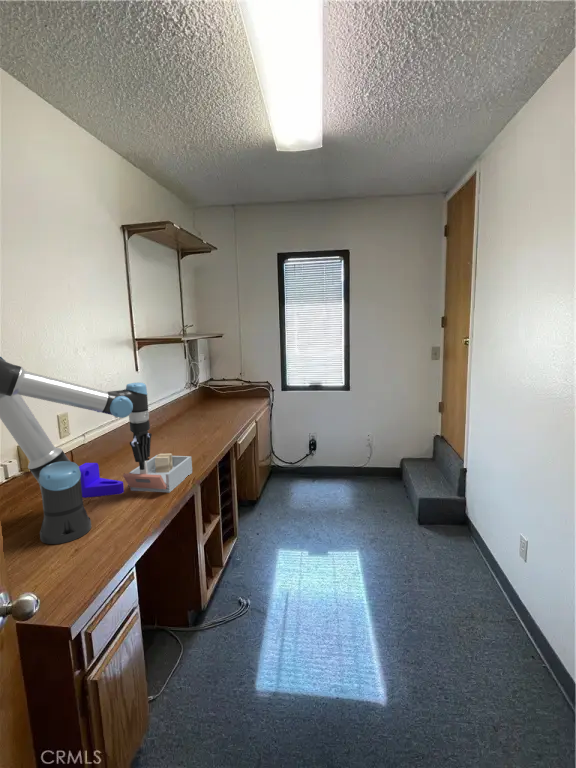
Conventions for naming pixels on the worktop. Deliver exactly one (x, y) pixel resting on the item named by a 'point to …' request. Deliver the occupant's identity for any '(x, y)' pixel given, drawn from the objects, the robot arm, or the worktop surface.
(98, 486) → the bracket
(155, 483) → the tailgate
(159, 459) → the beige block
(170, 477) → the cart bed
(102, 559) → the worktop surface
